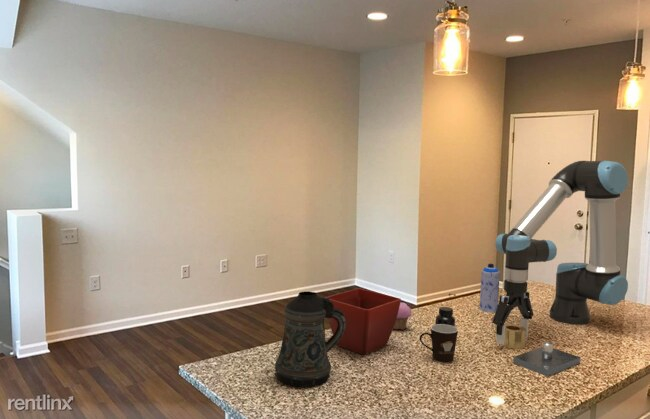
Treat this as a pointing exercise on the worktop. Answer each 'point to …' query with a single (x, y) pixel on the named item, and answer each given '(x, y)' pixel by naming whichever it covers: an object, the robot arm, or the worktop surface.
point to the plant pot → (365, 319)
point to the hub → (514, 336)
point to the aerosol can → (489, 289)
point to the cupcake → (402, 316)
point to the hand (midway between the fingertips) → (512, 339)
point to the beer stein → (307, 341)
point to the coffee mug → (442, 342)
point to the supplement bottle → (445, 316)
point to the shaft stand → (546, 360)
